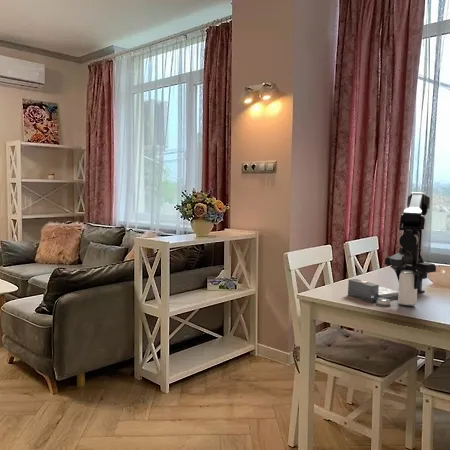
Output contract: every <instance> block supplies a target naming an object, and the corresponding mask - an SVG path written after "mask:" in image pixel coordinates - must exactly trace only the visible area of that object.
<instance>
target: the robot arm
mask: <svg viewBox="0 0 450 450" xmlns="http://www.w3.org/2000/svg"><path fill="white" fill-rule="evenodd" d="M406 200H407V202H406V207H407V208H405V209H404V210H403V213H401V215H400V219H399V221H400V222H399V228H398V230H399V231H403V232H402V234H401V235H400V238H399V242H398V243H399V245H400V246H401V247H399V250H398V252H397V253H395V254H393V255H391V256H387V257H385V259H384V265H387V266H389V268H391V269H392V270H394V272H395V274H396V275H395V276H396V278H397V282H398V283H399V275H400V273H401V271H403V270H409V271H413V273H414V289H417V294H420V293H425V290H423V280H425V279H428V274H430V273H436V272H437V266H436V265H435V263H430V262H425V258H424V257H423V255H422V243H423V242H422V241H423V240H422V239H423V230H425V224H426V218H425V216H426V215H427V214H428V211H429V210H430V208H431V197H430V196H428V195H426V194H425V192H417V191H416V192H414V191H413V192H410V195H408V196H407V199H406Z"/></svg>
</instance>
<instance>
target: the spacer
mask: <svg viewBox="0 0 450 450" xmlns="http://www.w3.org/2000/svg"><path fill="white" fill-rule="evenodd" d="M375 304H376V306H379V307H391V300H389V299H384V298H378V299H376V302H375Z"/></svg>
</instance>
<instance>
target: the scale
mask: <svg viewBox="0 0 450 450" xmlns="http://www.w3.org/2000/svg"><path fill="white" fill-rule="evenodd" d="M347 285H348V286H347V287H348V288H347V296H350V297H353V298H356V299H359V300H362V301H365V302H369V303H371V304H373V303H375V304H376V299H378V298H384V299H389V300H390V301H391V300H392V301H393V300H398V294H395V295H388V296H382V297H379V296H378V290H379V284H376V283H372V282H369V281H367V280H362V279H359V278H351V279H348V284H347Z"/></svg>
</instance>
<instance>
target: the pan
mask: <svg viewBox="0 0 450 450" xmlns="http://www.w3.org/2000/svg"><path fill="white" fill-rule="evenodd" d="M395 294H398V290H394V289H391V288H387V287H384V286H379V290H378V296H379V297H382V296H388V295H395Z"/></svg>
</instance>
